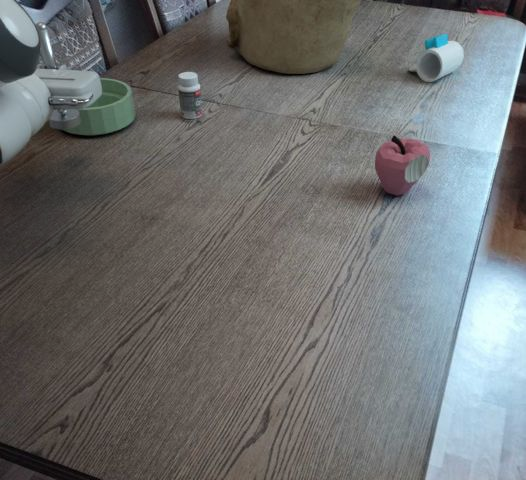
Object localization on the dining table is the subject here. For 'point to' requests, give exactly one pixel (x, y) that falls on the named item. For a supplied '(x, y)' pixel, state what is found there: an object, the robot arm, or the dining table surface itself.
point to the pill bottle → (189, 95)
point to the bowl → (107, 110)
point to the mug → (438, 58)
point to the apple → (401, 164)
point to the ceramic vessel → (290, 32)
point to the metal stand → (59, 116)
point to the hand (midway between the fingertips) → (54, 68)
